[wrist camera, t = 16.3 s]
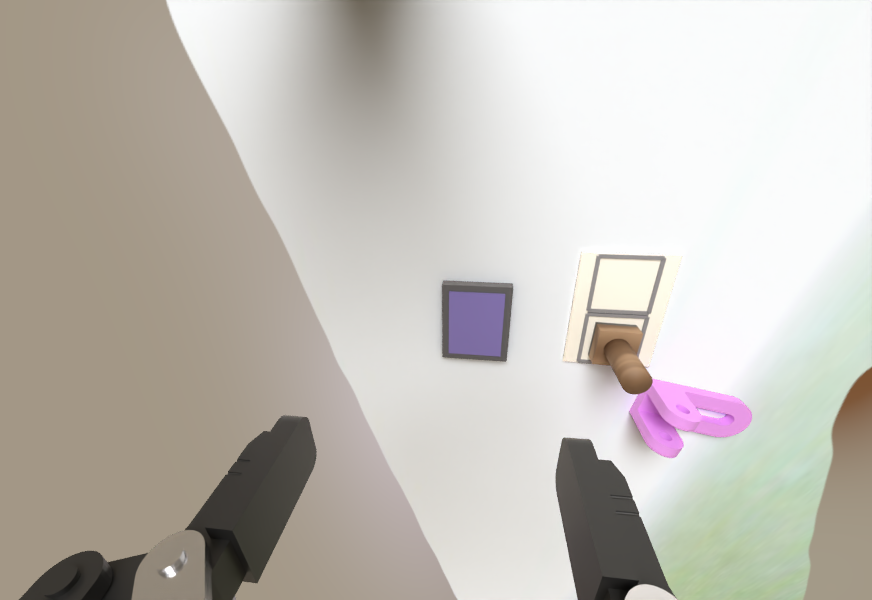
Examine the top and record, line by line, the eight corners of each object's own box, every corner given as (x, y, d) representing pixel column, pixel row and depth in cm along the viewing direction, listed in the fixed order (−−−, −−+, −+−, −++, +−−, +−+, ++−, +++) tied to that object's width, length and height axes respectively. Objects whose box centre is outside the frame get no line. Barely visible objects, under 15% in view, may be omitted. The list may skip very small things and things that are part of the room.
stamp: (595, 321, 41) (618, 361, 34) (636, 325, 41) (668, 366, 33) (587, 354, 43) (607, 398, 36) (626, 357, 42) (654, 403, 35)
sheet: (581, 252, 38) (582, 253, 38) (680, 255, 37) (683, 256, 36) (562, 359, 44) (563, 362, 44) (647, 365, 43) (649, 367, 42)
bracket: (628, 410, 46) (650, 453, 40) (647, 376, 44) (673, 417, 38) (729, 432, 46) (767, 480, 39) (753, 400, 43) (798, 445, 37)
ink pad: (443, 280, 42) (442, 285, 40) (512, 283, 41) (513, 288, 39) (443, 351, 46) (442, 357, 45) (505, 356, 45) (506, 362, 44)
